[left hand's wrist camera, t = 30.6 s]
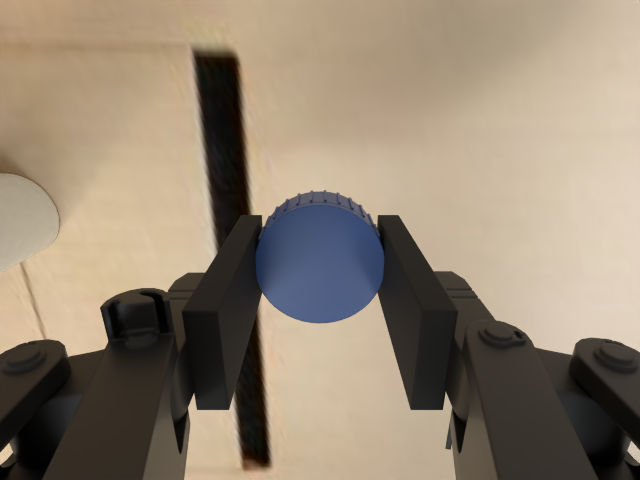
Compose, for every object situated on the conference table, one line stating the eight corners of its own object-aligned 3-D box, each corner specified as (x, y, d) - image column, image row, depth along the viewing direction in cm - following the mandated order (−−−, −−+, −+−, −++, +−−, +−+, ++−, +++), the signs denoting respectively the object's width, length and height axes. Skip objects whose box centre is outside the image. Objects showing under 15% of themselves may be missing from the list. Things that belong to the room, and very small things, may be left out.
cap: (322, 163, 13) (322, 173, 11) (403, 249, 14) (414, 270, 13) (235, 245, 14) (224, 265, 13) (317, 319, 15) (317, 346, 14)
